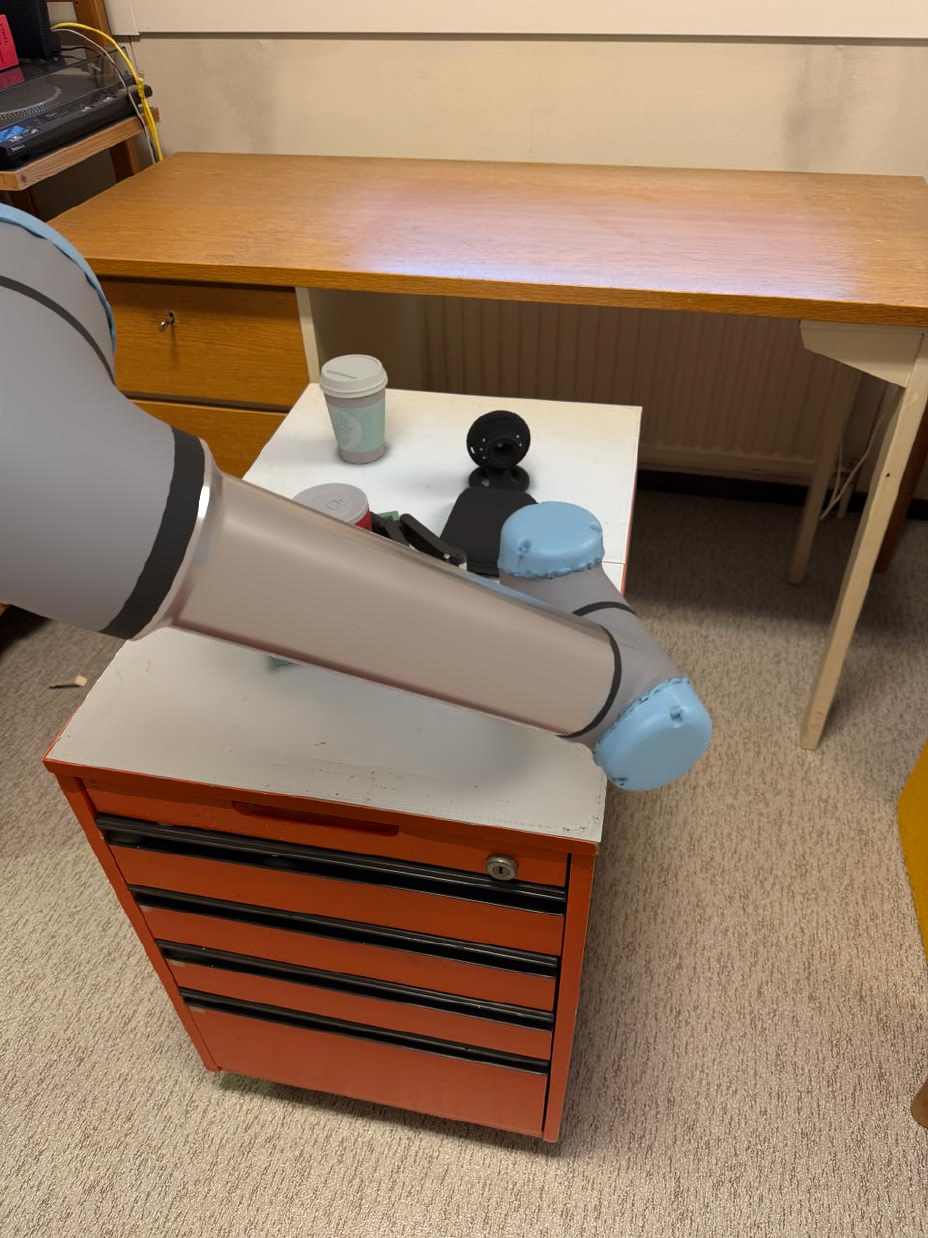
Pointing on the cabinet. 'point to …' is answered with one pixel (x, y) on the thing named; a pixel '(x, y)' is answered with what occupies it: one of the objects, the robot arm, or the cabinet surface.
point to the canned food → (339, 502)
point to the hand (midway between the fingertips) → (304, 527)
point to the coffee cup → (356, 405)
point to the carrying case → (482, 524)
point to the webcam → (499, 450)
